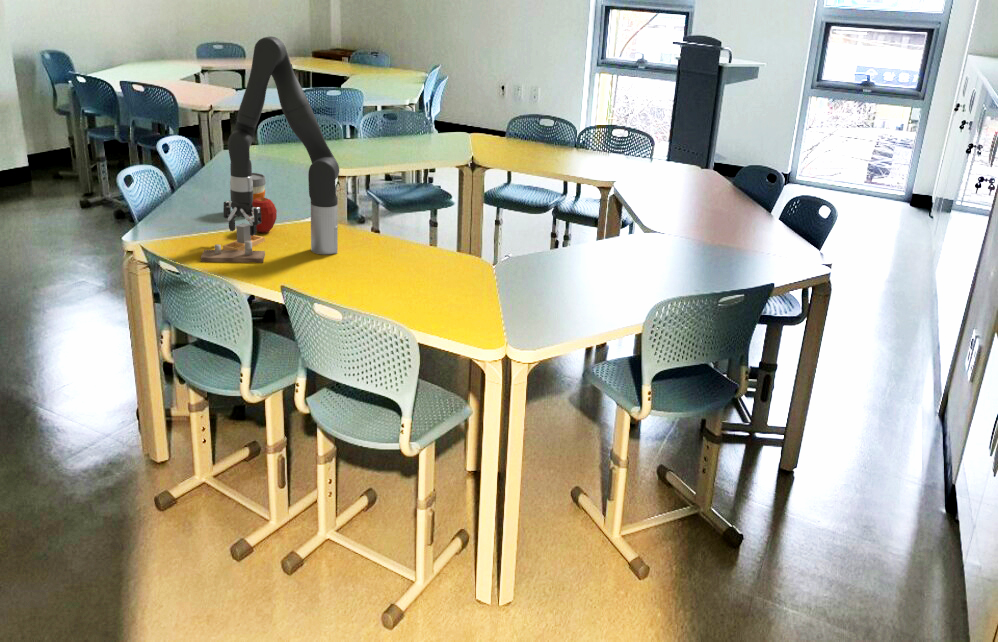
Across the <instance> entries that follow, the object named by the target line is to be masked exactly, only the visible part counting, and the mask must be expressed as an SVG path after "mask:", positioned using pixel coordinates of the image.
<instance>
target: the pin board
mask: <svg viewBox="0 0 998 642" xmlns="http://www.w3.org/2000/svg"><path fill="white" fill-rule="evenodd" d="M265 257H266V251H265V250H253V247H252V241H245V250H243V251H242V250H223V249H222V246H221V244H214V249H204V250H203V251H202V254H201V256H200V262H201V263H203V262H207V263H250V262H255V264H256V263H258V264H259V263H261V264H263V263H264V260H265Z"/></svg>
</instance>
